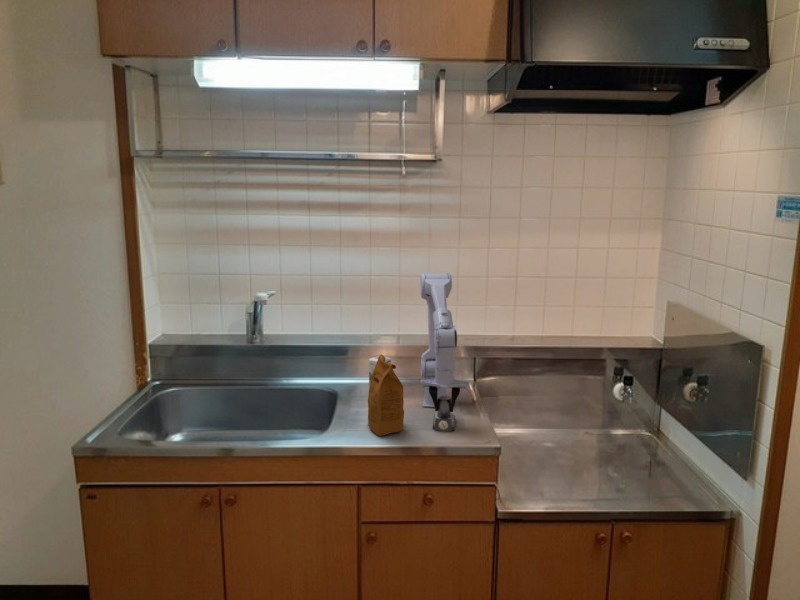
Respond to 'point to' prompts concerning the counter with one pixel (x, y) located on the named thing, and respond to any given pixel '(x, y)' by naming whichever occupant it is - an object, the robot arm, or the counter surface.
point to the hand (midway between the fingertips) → (444, 410)
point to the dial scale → (444, 423)
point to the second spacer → (444, 408)
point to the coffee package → (385, 399)
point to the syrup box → (373, 362)
